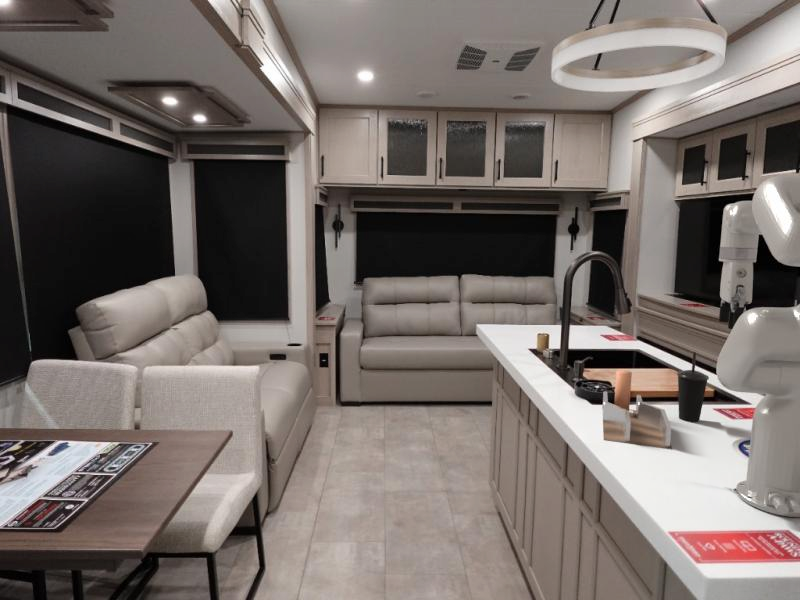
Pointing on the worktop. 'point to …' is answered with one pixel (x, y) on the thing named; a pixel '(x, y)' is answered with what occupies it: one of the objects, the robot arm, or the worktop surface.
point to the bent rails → (643, 413)
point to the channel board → (635, 433)
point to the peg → (623, 389)
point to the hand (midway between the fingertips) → (730, 325)
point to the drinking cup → (691, 393)
